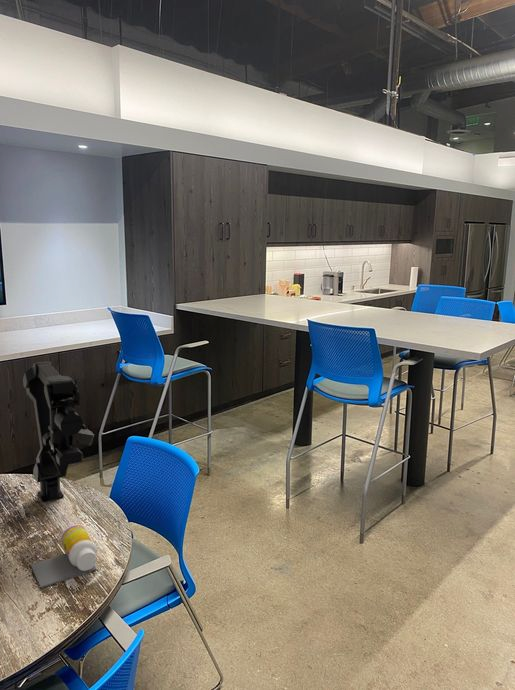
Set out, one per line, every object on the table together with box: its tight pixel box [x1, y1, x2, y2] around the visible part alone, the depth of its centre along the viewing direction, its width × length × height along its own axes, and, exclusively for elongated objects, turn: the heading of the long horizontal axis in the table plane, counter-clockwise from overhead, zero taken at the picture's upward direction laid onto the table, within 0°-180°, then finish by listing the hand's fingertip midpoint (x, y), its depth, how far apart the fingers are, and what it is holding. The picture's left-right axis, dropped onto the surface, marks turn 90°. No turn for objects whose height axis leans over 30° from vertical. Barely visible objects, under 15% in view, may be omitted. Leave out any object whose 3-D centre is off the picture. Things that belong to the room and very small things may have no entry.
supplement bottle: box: [60, 523, 98, 571], centre depth 131 cm, size 7×7×13 cm
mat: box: [30, 553, 98, 589], centre depth 129 cm, size 10×13×1 cm
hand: (63, 475), depth 148 cm, fingers closed
